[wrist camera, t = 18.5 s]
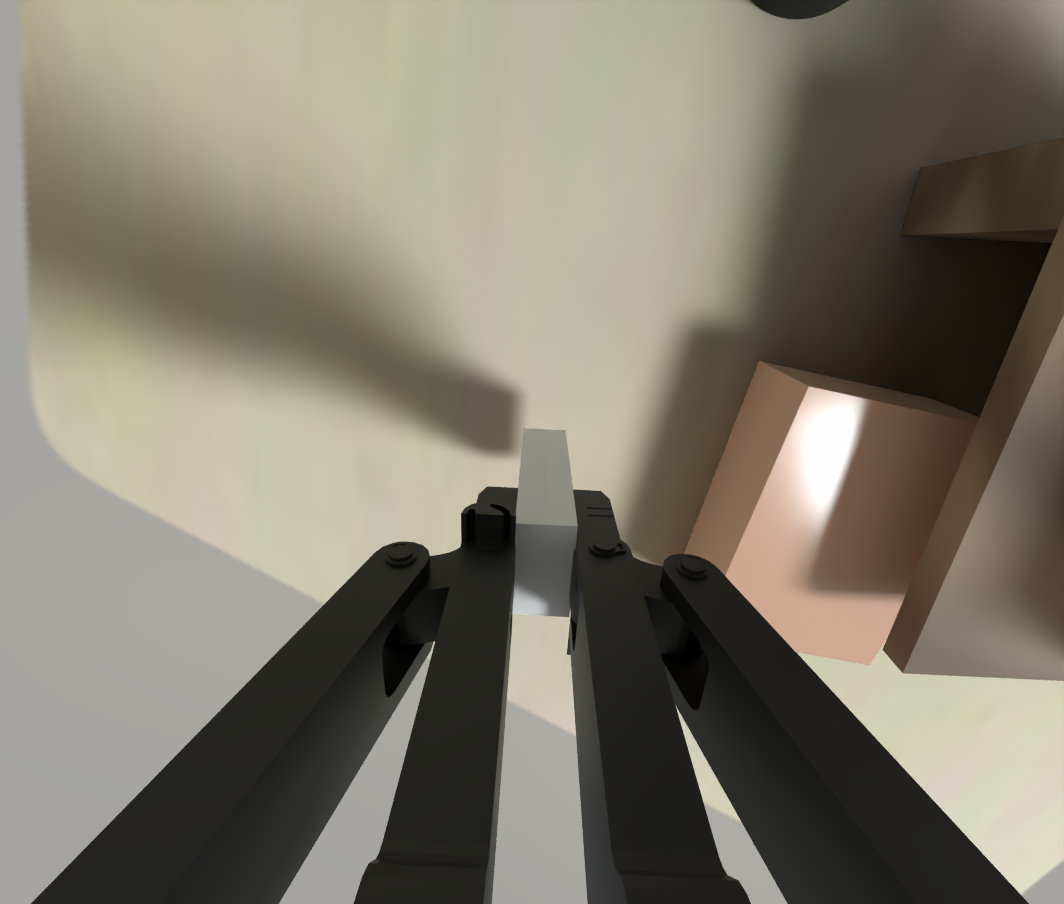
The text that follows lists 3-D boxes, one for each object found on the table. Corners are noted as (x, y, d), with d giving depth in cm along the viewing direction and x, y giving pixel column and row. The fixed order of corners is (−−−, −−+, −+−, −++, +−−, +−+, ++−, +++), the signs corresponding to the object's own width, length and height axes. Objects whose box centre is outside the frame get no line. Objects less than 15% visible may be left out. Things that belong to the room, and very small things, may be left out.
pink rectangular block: (673, 571, 23) (699, 634, 19) (755, 359, 19) (809, 386, 15) (816, 598, 23) (869, 665, 19) (925, 396, 19) (1016, 431, 16)
